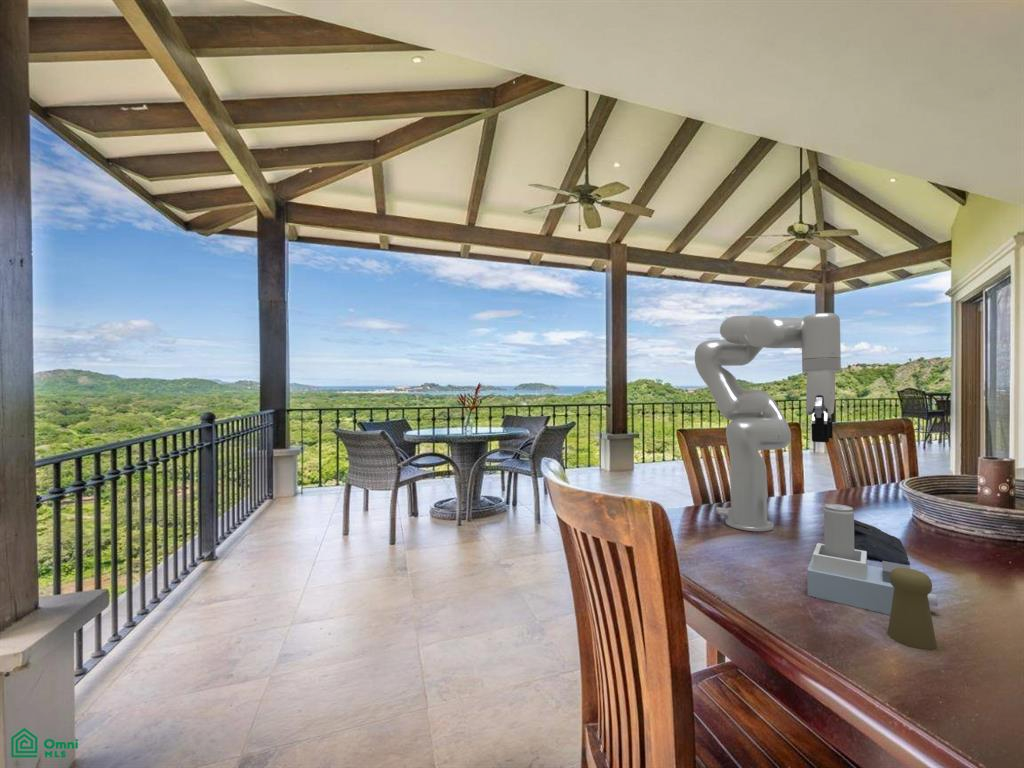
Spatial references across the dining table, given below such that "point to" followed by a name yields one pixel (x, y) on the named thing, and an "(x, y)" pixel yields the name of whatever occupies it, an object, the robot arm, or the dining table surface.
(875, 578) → the recessed tray block
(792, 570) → the dining table surface
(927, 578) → the olive pepper mill
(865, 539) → the dark slate chunk
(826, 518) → the beverage can
